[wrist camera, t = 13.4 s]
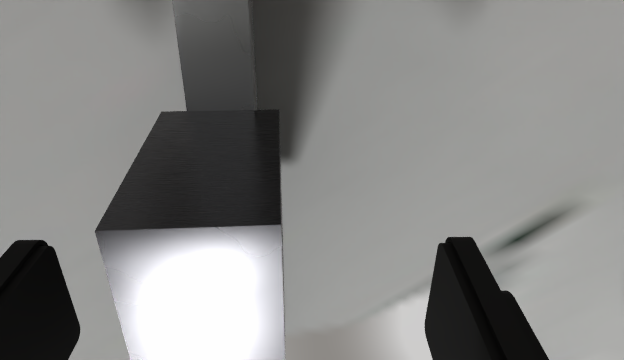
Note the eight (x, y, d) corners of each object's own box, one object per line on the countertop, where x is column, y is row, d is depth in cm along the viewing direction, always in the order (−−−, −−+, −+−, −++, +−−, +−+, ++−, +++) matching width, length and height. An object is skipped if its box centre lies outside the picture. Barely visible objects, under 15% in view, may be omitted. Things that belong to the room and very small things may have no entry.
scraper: (267, -289, 12) (255, -627, 4) (286, 361, 24) (291, 565, 16) (123, -294, 11) (-151, -659, 4) (216, 365, 23) (189, 573, 16)
